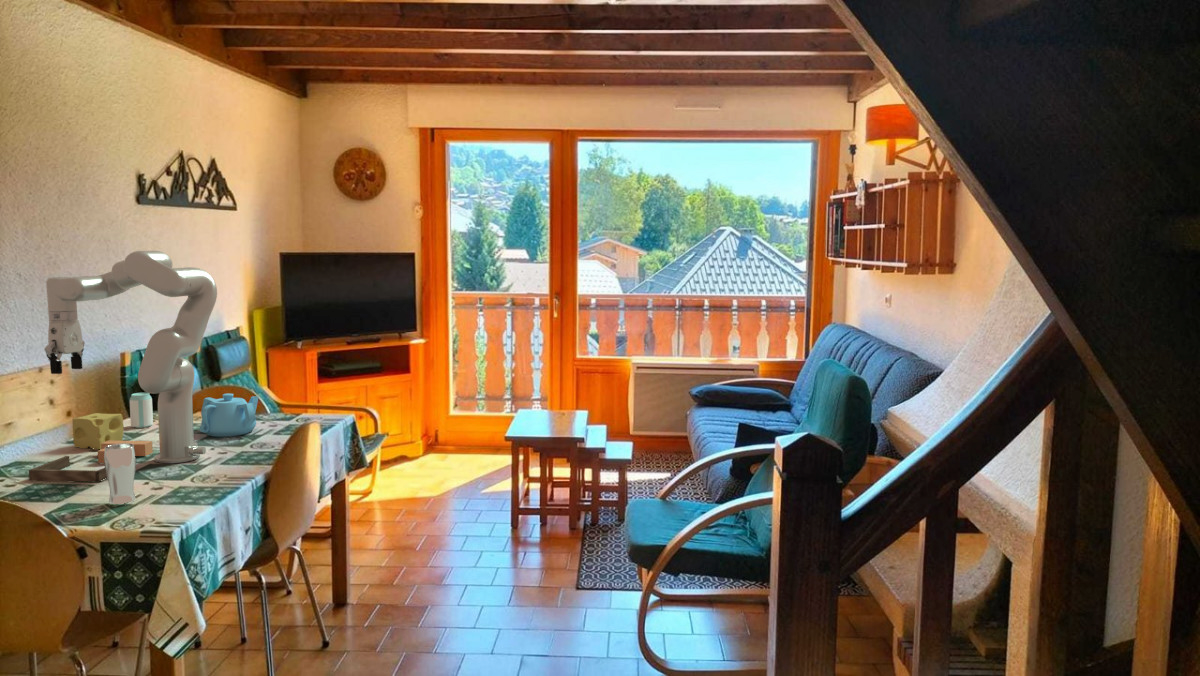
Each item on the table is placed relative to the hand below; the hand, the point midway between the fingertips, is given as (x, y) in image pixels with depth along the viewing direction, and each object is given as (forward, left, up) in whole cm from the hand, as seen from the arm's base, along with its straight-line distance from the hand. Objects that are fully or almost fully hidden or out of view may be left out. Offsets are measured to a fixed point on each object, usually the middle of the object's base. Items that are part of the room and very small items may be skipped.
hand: (67, 371), depth 257 cm
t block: (-18, +5, -26) cm, 32 cm away
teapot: (-35, -33, -27) cm, 55 cm away
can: (0, -38, -27) cm, 47 cm away
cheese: (-2, -10, -27) cm, 29 cm away
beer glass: (-45, +47, -26) cm, 70 cm away
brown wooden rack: (-18, +22, -26) cm, 39 cm away
